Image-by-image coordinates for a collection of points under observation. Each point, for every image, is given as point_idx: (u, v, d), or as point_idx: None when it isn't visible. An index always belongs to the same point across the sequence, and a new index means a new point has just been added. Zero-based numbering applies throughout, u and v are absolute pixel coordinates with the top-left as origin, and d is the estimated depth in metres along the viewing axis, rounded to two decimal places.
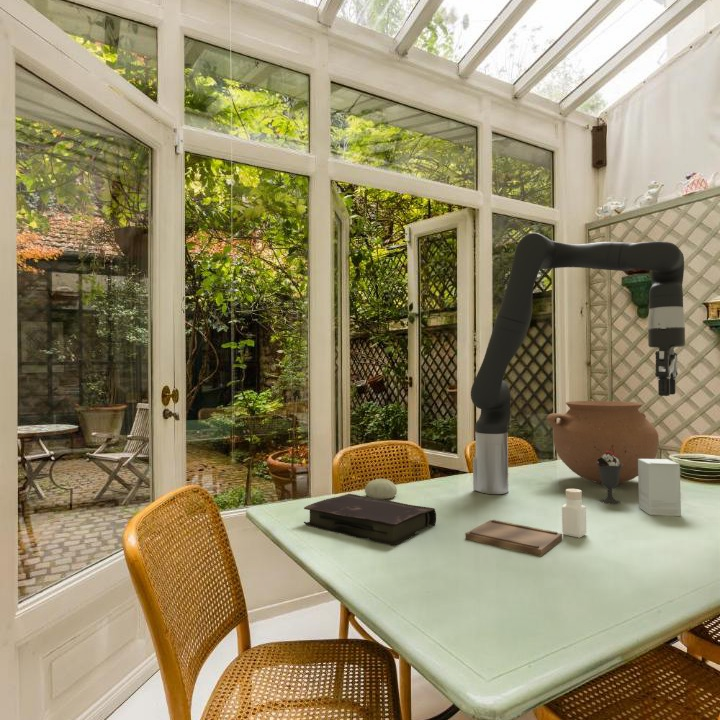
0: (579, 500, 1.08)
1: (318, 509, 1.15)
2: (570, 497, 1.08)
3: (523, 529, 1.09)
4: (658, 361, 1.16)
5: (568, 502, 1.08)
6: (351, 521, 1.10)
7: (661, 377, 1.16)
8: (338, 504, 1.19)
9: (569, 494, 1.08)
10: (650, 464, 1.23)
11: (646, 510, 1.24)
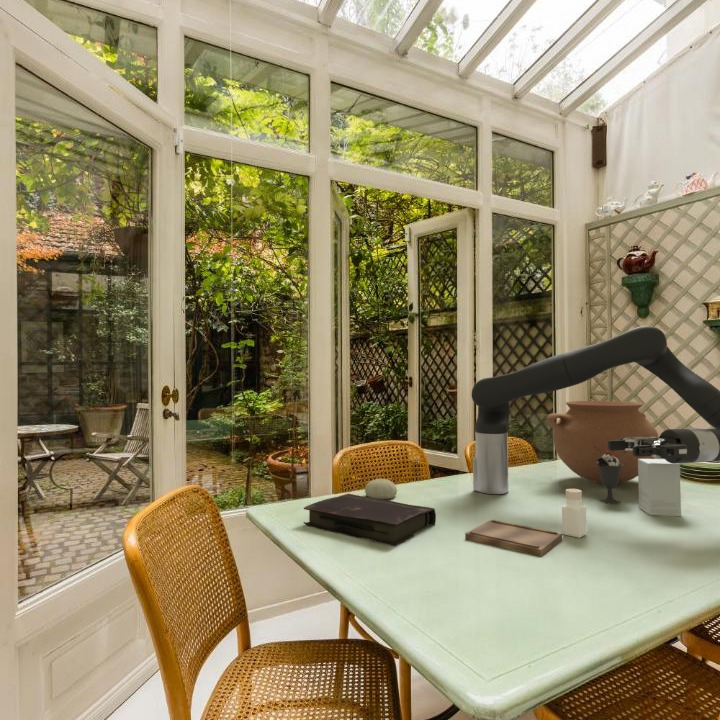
0: (579, 500, 1.08)
1: (318, 509, 1.15)
2: (570, 497, 1.08)
3: (523, 529, 1.09)
4: (677, 448, 1.05)
5: (568, 502, 1.08)
6: (351, 521, 1.10)
7: (660, 451, 1.05)
8: (338, 504, 1.19)
9: (569, 494, 1.08)
10: (650, 464, 1.23)
11: (646, 510, 1.24)
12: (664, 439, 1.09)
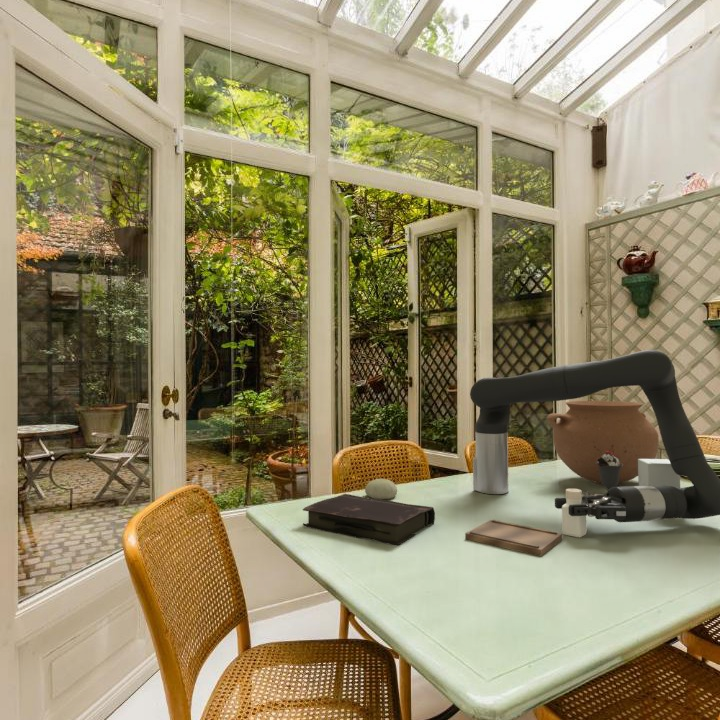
0: (579, 500, 1.08)
1: (318, 510, 1.14)
2: (570, 497, 1.08)
3: (523, 529, 1.09)
4: (614, 510, 1.03)
5: (568, 502, 1.08)
6: (352, 522, 1.10)
7: (595, 512, 1.04)
8: (337, 505, 1.19)
9: (569, 494, 1.08)
10: (650, 464, 1.23)
11: None
12: (608, 498, 1.08)
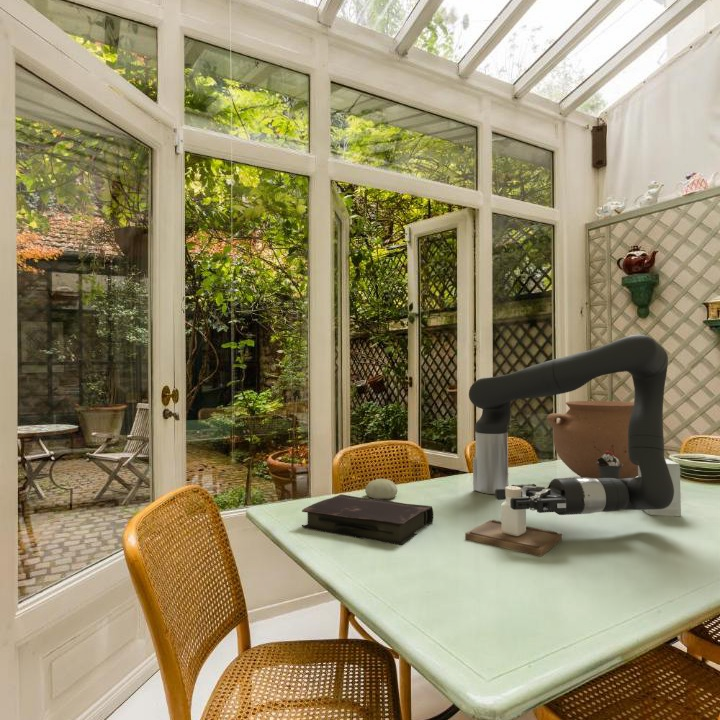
0: None
1: (317, 511, 1.14)
2: (509, 495, 1.05)
3: None
4: (555, 502, 1.00)
5: (507, 500, 1.06)
6: (354, 522, 1.10)
7: (536, 505, 1.00)
8: (335, 505, 1.18)
9: (508, 492, 1.06)
10: None
11: (646, 510, 1.24)
12: (548, 490, 1.05)
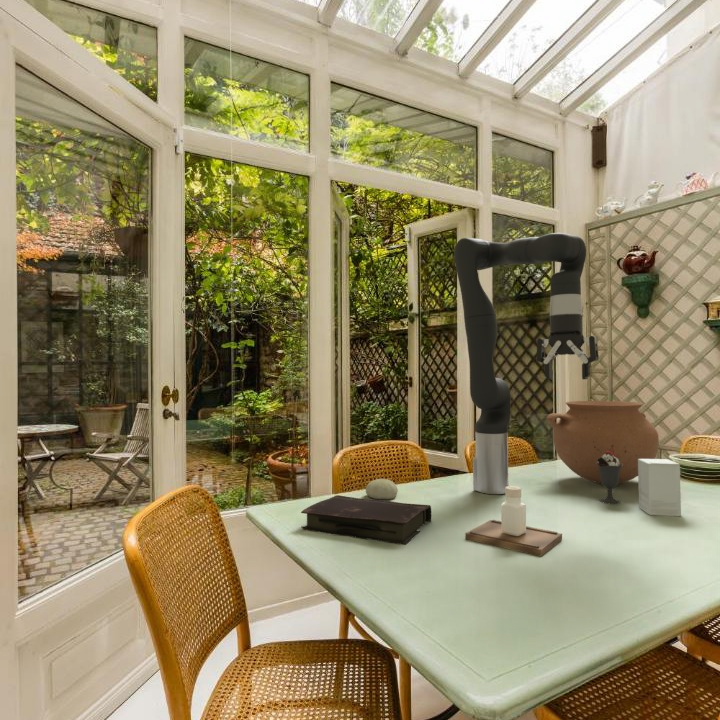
0: (518, 498, 1.05)
1: (317, 512, 1.13)
2: (509, 495, 1.05)
3: None
4: (595, 346, 1.21)
5: (507, 500, 1.06)
6: (355, 522, 1.09)
7: None
8: (334, 506, 1.17)
9: (508, 492, 1.06)
10: (650, 464, 1.23)
11: (646, 510, 1.24)
12: (573, 343, 1.23)
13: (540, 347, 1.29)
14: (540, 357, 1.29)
